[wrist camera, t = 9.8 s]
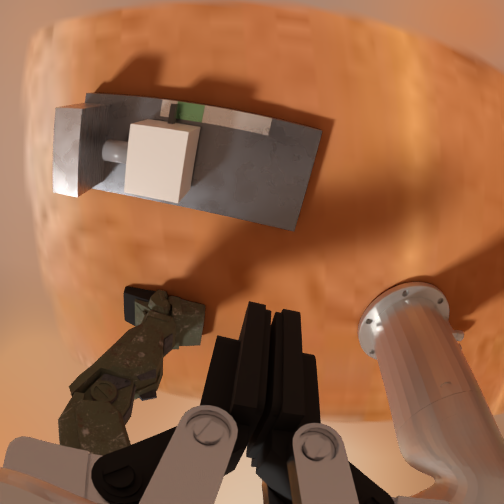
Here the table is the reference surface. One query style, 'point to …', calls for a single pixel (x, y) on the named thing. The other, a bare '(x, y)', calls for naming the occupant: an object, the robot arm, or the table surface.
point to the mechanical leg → (128, 370)
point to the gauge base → (206, 160)
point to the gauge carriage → (157, 157)
